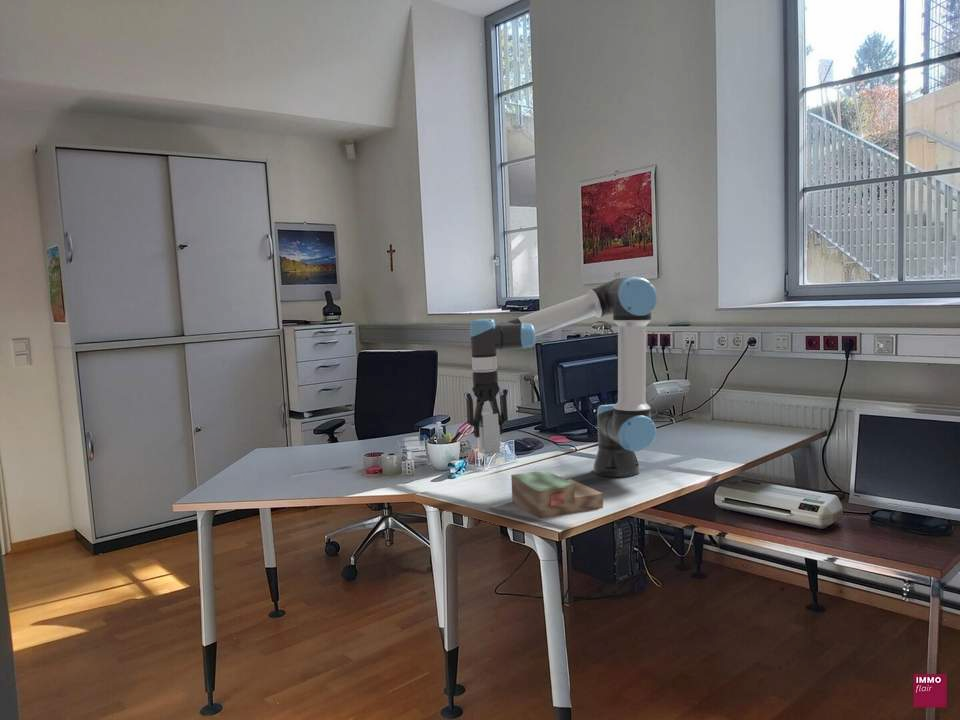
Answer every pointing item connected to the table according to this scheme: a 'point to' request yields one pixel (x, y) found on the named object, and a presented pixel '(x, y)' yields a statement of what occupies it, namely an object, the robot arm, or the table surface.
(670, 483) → the table surface
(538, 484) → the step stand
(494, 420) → the steel column
